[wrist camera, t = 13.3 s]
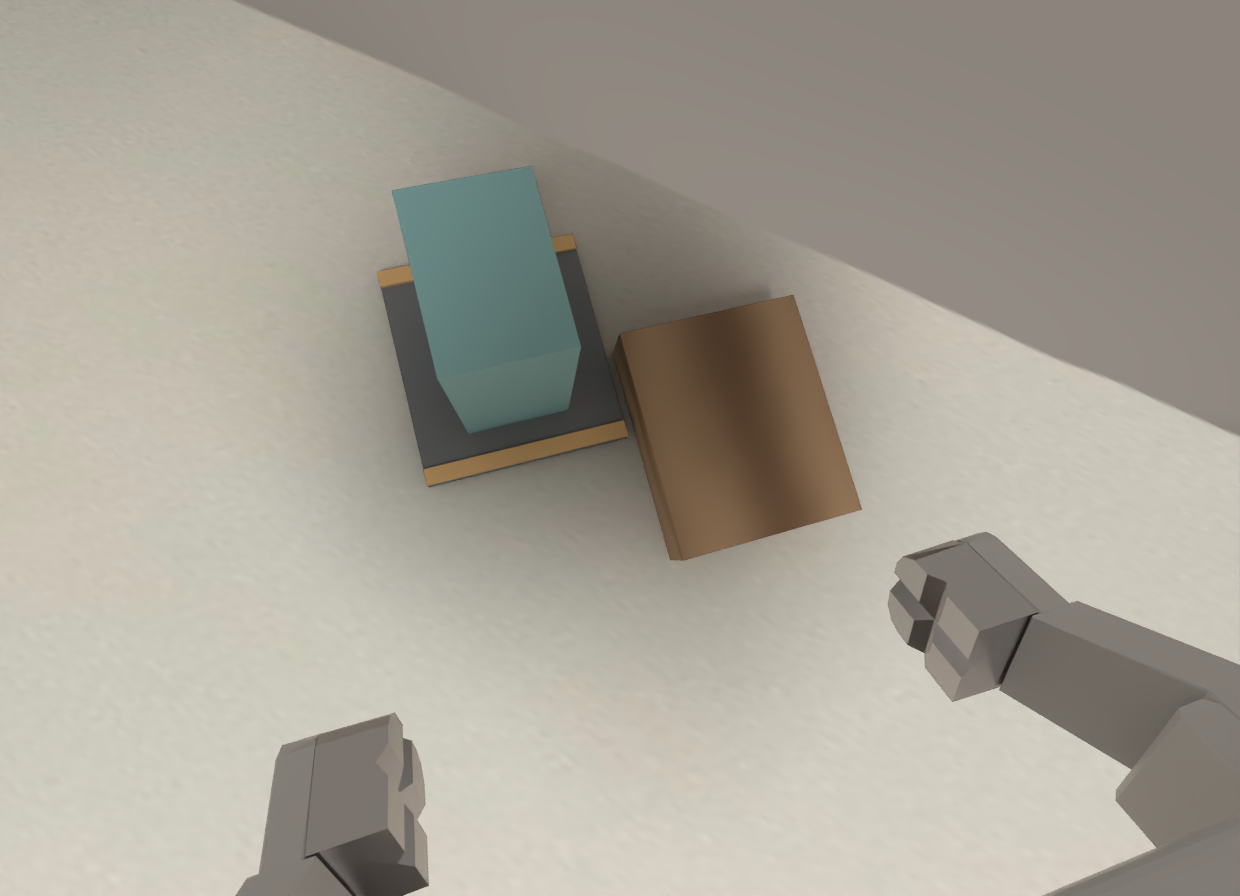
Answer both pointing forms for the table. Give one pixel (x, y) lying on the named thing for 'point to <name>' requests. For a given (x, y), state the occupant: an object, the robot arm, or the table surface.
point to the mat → (509, 445)
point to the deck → (733, 427)
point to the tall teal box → (491, 296)
